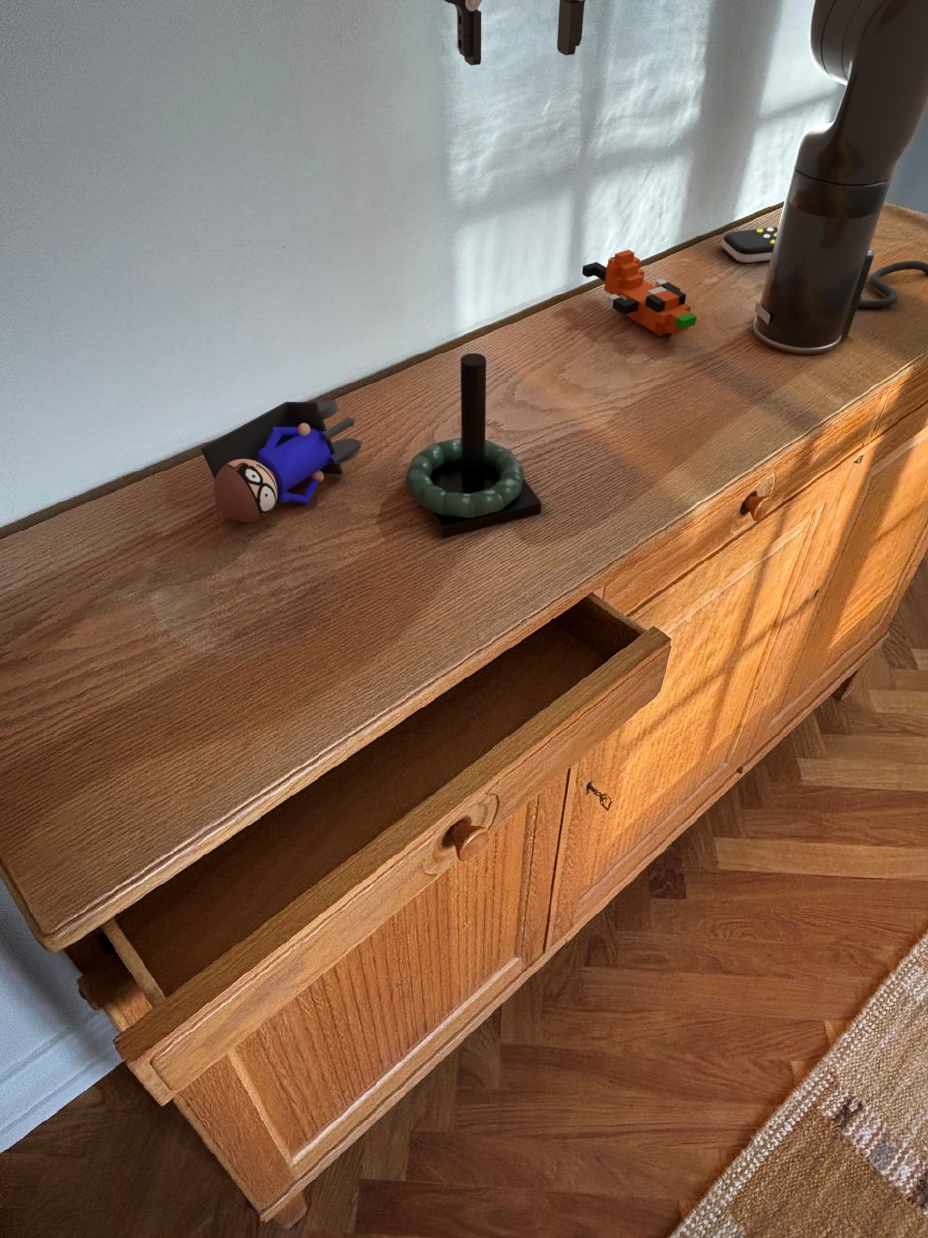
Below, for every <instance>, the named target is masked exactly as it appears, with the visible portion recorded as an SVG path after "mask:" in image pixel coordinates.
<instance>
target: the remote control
mask: <svg viewBox="0 0 928 1238" xmlns="http://www.w3.org/2000/svg"><path fill="white" fill-rule="evenodd" d="M778 227H779V225H778V226H773V227H772V226H771V227H762V228H754V229H745V230H735V231H730V232H727V233H726V234H724V236H723V239H722V243H721V244H722V248H723V250H725V251H726V252H727V253H728V254H729V255H730V256H731V257H732V258H733V259H734V260H736V261H737V262H740V263H746V264H747V263H748V264H749V263H755V262H756V263H757V262H765V261H770V259H771V255H772V251H773V247H774V243H775V239H776V235H777V231H778Z"/></svg>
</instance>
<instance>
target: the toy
mask: <svg viewBox="0 0 928 1238" xmlns="http://www.w3.org/2000/svg"><path fill="white" fill-rule="evenodd" d="M640 263H641V259H640V258H638V257H636V256H635V252H634V251H632V250H630V249H626V250H623V251H620V252H616V253H614V256H611V257H610V258H608V260H607V264H606V266H605V265H603V264H601V263H600V262H599V261H594V262H591V263H588V264H585V265H582V273H581V274H582V276H584V277H586V278H590V277H596V278H598V279H600V280H601V281H603V282H604V289H603V291H605V292H606V293H608V294H609V295H607V299H606V305H607V306H608V307H610V308H611V309H613V310H615V311H616V312H617V313H620V314H621V315H623V316H626V317H628V318H630V319H632V320H633V321H634V322H636V323H638V324H640V325H642V326H643V327H645V328H646V329H647V330H649V331H651V332H653V333H654V334H655V335H658V336H659V337H660V336H664V335H666V334H667V335H668V334H669V333H670V334H671V335H673V336H674V335H676V334H677V335H678V334H679V333H680V334H681V333H684V332H686V331H688V328H691V327H694V326H696V323H697V315H696V314H693V313H692V312H691V309H692V306H691V305H688V304H687V303H686V299H687V294H686V293H685V292H683V291H681V288H680V287H678V286H676V285H674V284H673V283H671V282H669V281H668V280H665V279H664V278H660V279H658V280H655V283H654V285H653V284H652V283H649V282H648V281H646V280H644V278H645V270H643V269H641V268H640Z"/></svg>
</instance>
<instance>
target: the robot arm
mask: <svg viewBox="0 0 928 1238" xmlns="http://www.w3.org/2000/svg"><path fill="white" fill-rule="evenodd" d="M443 1H444V2H446V3H448V4H452V5H454V7H455V10H456V35H457V36H456V38H457V39H456V41H457V43H456V45H457V46H456V47H457V50H458V53H459V55H461V56H463V59H464V61H465V62H466V63H467V64H468V65H470V66H478V65H481V63H482V10H479V9H478V8H479V7H480V5H481V3H482V2H483V0H443ZM558 3H559V6H558V20H557V21H558V23H557V39H556V49H557V52H559V53H560V54H562V55H563V56H574V55H576V54H575V53H576V50H577V47H579V46H580V44H581V42H582V39H583V27H584V26H583V25H584V16H585V15H584V14H585V4H586V0H559V2H558ZM808 31H809V32H808V45H809V54H810V58H811V60H812V62H813V64H814V66H815V68H816V69H817V70H818V71H819V72H820V73H821V74H823V75H824V77H827V78H829V79H831V80H833V81H835V82H838V83H840V84H843V85H844V86H845V89H844V93H843V95H842V98H841V100H840V104H839V107H838V110H837V112H836V115H835V118H834V120H833V121H832V122H830V123H824V124H818V125H816V126H813V127H811V128H809V129H808V130H806V131H805V132H804V133H803V135H802V136H801V138H800V140H799V142H798V146H797V150H796V154H795V158H794V162H793V165H792V170H791V174H790V178H789V181H788V186H787V190H786V195H785V198H784V203H783V207H782V212H781V215H780V219H779V223H778V226H779V227H778V226H777V227H778V231H777V235H776V239H775V243H774V247H773V251H772V255H771V259H770V260H769V264H768V268H767V271H766V276H765V280H764V285H763V288H762V292H761V296H760V301H759V302H758V301H756V302H755V307H754V312H755V313H756V317H755V319H754V321H753V325H752V332H753V334H754V336H755V338H757V340H759V341H760V342H762V343H763V344H765V345H767V346H768V347H770V348H772V349H775V350H779V351H782V352H786V353H791V354H800V355H813V354H814V355H815V354H822V353H827V352H829V351H831V350H834V349H835V348H837V346H838V345H839V344H840V343H841V341H843V340H847V339H848V336H849V333H850V330H851V327H852V325H853V321H854V319H855V316H856V313H857V309H862V310H863V309H864V310H876V309H877V310H878V309H884V308H885V309H886V308H888V307H891V306H893V305H894V304H896V303H897V302H898V298H899V295H898V292H897V291H896V290H895V289H893V288H892V287H891V286H889V285H888V284H886V283H885V282H883V281H882V280H881V279H880V278H882V277H884V276H887V275H889V274H892V273H896V272H900V271H906V270H907V271H909V270H916V271H921V272H923V273H924V274H925V276H927V277H928V263H927V262H924V261H920V260H906V261H900V262H895V263H892V264H888V265H886V266H884V267H881V268H879V269H878V270H876V271H874V272H873V273H872V274H871V275H870V277H869V283H870V284H871V286H872V287H874V288H875V289H876V290H877V291H879V292H880V293H882V294H883V295H885V296H886V297H887V298H883V299H862V294H863V292H864V289H865V285H866V282H867V279H868V275H869V273H870V270H871V267H872V264H873V262H874V258H875V252H874V251H873V250H872V249H871V248H870V247H871V244H872V241H873V238H874V235H875V233H876V228H877V225H878V223H879V219H880V216H881V214H882V211H883V206H884V203H885V201H886V197H887V195H888V191H889V188H890V185H891V182H892V179H893V176H894V173H895V170H896V167H897V164H898V162H899V160H900V158H901V157H902V155H903V154H904V153H905V151H906V150H907V148H908V147H909V145H910V144H911V142H912V141H913V138H914V137H915V135H916V133H917V131H918V128H919V126H920V124H921V121H922V118H923V116H924V113H925V111H926V108H927V105H928V0H814V3H813V8H812V13H811V18H810V23H809V30H808Z"/></svg>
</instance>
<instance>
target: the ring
mask: <svg viewBox="0 0 928 1238" xmlns="http://www.w3.org/2000/svg"><path fill="white" fill-rule="evenodd" d="M460 460H462V447H461V437H455V438H450V439H446V440H442V441H438V442H434V443H432V444H430V445H428V446H427V447H425V448H423V450H421V451H420V452H419V453H416V455H414V456H413V457H412V459H411V461H410V464H409V467H408V469H407V472H406V475H405V483H406V486H407V488H408V489H409V491H410V493H411V494H412V497H413V499H414V500H415V502H416V503H417V504H418V505H420V506H422V507H424V508H425V509H426V508H428V509H430V510H432V511H434V512H436V513H438V514H440V515H443V516H453V517H464V518H474V517H478V516H482V515H486V514H490V513H494V512H498V511H500V510H501V509H503V508H504V507H505V506H506V505H508V504H509V503H510V502H511V501H513V500H514V499H515V498H516V497H517V496H518V495H519V494H520V492H521V487H522V482H523V478H524V477H525V476H524V475H525V470H524V467H523V465H522V464H521V463H520V462H519V460H518V459H517V458H516V456H515V454H514V453H513V452H512V451H511V450H510V449H508V448H507V447H504V446H501V445H500V444H497V443H495V442H493V441H490V440H488V439H485V464H486V465H488V466H490V467H493V468H495V469H496V470H497V472H498V473H499V475H500V478H499V481H498V482H497V483H496V484H495V485H493V486H492V487H491V488H489V489H487V490H483V491H478V492H474V493H470V494H467V493H456V492H448V491H446V490H444V489H442V488H440V487H437V486H435V485H434V484H433V483H432V481H431V479H430V476H431V473H432V472H433V471H434V470H436V469H437V468H438V467H440V466H441V465H443V464H447V463H452V462H456V461H460Z"/></svg>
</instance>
